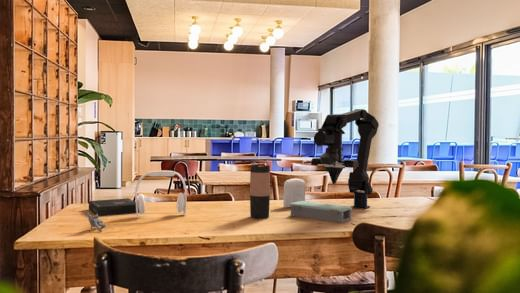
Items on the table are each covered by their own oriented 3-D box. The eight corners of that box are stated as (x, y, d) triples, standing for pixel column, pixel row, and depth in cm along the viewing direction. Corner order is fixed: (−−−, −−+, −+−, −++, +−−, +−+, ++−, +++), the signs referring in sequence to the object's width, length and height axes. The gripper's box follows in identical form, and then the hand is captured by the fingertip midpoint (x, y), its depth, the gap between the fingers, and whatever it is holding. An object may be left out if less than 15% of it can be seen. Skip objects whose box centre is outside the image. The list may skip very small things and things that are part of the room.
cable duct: (301, 212, 195) (301, 203, 194) (351, 219, 182) (351, 209, 182) (290, 215, 188) (290, 205, 188) (341, 222, 175) (342, 212, 175)
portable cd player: (141, 213, 192) (141, 203, 192) (97, 217, 183) (97, 207, 183) (130, 207, 206) (129, 198, 206) (88, 210, 197) (88, 201, 197)
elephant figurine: (117, 228, 163) (104, 224, 155) (104, 241, 163) (90, 237, 154) (100, 208, 167) (87, 203, 158) (88, 220, 166) (74, 215, 158)
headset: (185, 213, 191) (185, 169, 190) (188, 216, 184) (188, 170, 183) (134, 216, 185) (133, 170, 184) (135, 219, 178) (135, 171, 177)
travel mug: (255, 219, 179) (255, 166, 179) (246, 216, 186) (246, 165, 185) (273, 218, 183) (273, 166, 182) (263, 214, 190) (264, 164, 189)
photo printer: (300, 204, 214) (300, 177, 213) (306, 206, 210) (306, 178, 210) (281, 206, 208) (282, 178, 208) (287, 208, 205) (288, 179, 204)
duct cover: (300, 205, 195) (301, 200, 195) (351, 211, 182) (352, 206, 182) (289, 208, 187) (289, 203, 187) (341, 215, 174) (341, 210, 174)
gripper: (304, 145, 192) (303, 184, 192) (347, 146, 181) (346, 187, 181) (317, 144, 201) (317, 181, 201) (359, 146, 190) (358, 185, 191)
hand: (334, 183), depth 193 cm, fingers closed
